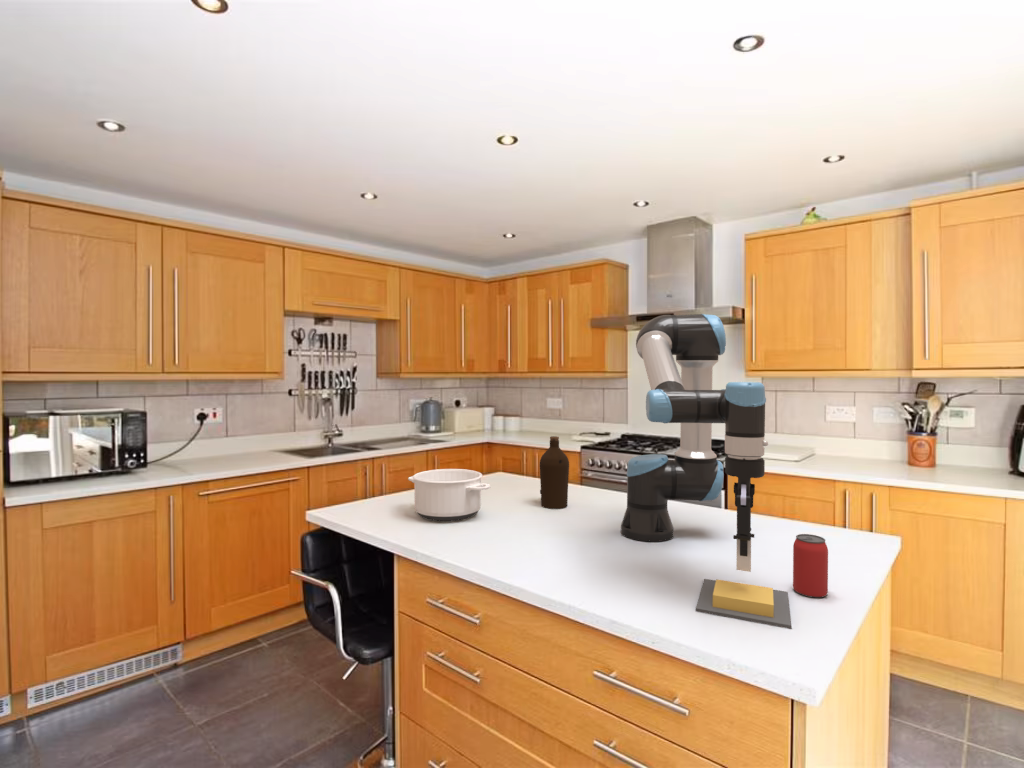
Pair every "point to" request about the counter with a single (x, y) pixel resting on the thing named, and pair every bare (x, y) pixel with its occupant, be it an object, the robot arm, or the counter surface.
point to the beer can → (810, 566)
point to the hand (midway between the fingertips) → (743, 569)
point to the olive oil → (554, 476)
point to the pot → (448, 494)
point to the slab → (743, 598)
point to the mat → (780, 612)
